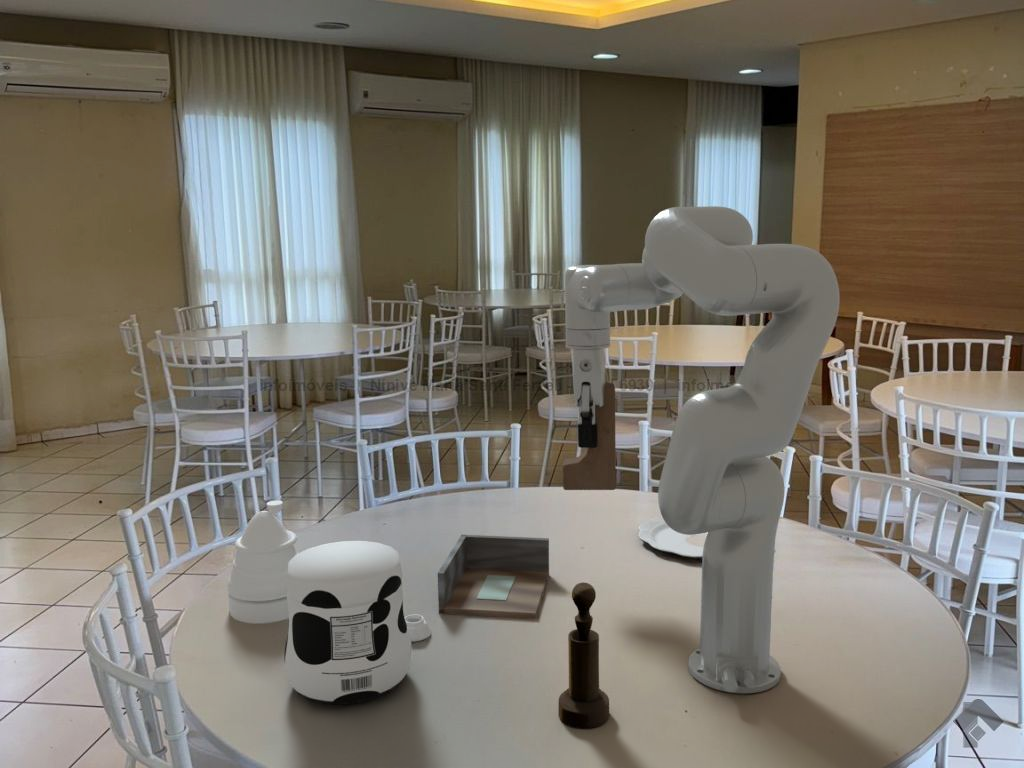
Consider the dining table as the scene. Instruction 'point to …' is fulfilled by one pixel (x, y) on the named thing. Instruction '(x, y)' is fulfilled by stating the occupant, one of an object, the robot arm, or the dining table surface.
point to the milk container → (346, 622)
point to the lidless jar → (417, 627)
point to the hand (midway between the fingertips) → (588, 442)
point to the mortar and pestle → (583, 669)
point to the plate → (668, 539)
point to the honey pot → (261, 569)
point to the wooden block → (596, 452)
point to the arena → (494, 576)
